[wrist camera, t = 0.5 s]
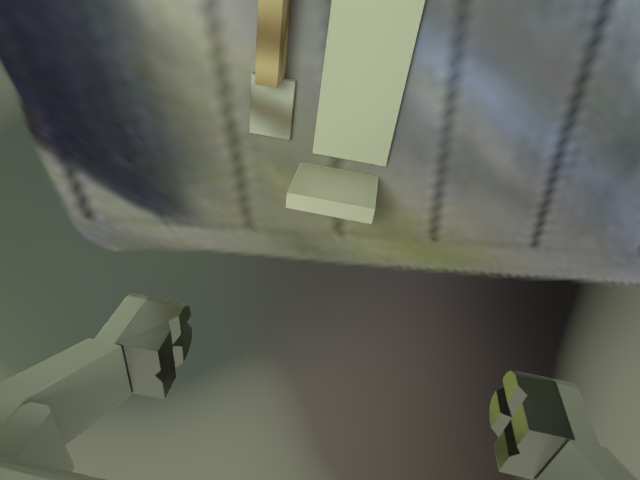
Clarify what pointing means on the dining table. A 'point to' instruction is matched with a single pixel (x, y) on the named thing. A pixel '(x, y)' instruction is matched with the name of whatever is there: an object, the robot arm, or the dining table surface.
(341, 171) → the tile
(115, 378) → the robot arm
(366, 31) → the tool rest
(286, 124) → the wooden handled scraper
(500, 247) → the dining table surface
